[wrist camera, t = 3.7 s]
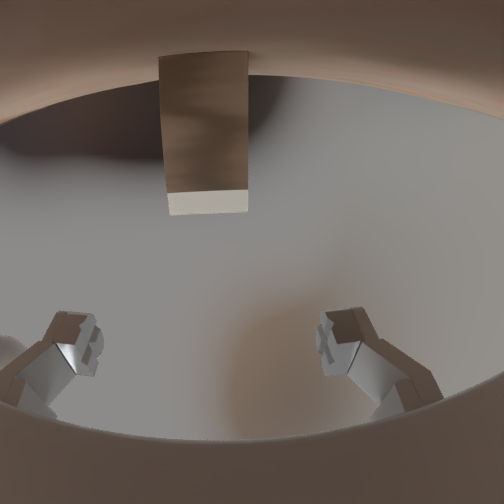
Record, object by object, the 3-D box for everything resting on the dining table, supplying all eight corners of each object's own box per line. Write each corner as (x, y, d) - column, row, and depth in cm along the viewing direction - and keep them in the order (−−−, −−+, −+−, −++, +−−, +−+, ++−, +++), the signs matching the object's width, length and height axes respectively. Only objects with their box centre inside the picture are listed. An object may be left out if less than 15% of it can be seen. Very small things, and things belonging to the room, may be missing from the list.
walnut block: (174, 64, 17) (181, 189, 22) (158, 56, 13) (169, 215, 18) (243, 60, 17) (244, 186, 23) (248, 51, 13) (248, 211, 18)
